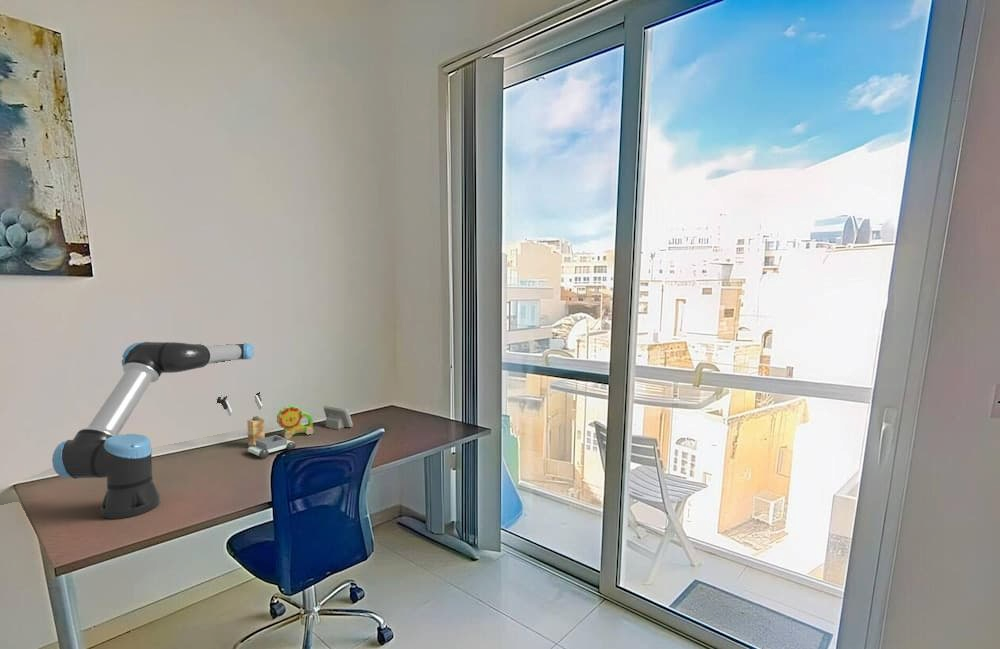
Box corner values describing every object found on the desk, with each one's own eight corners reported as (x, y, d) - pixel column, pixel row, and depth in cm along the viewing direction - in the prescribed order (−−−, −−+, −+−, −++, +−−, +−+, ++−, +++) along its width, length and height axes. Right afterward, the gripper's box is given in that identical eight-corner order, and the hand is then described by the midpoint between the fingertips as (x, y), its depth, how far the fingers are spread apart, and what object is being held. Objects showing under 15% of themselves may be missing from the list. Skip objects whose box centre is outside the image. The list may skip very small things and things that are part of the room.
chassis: (259, 459, 197) (259, 446, 196) (246, 454, 203) (246, 441, 203) (295, 449, 209) (295, 437, 209) (282, 444, 216) (282, 432, 215)
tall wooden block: (253, 448, 210) (252, 419, 209) (248, 446, 213) (247, 417, 212) (264, 445, 214) (264, 416, 213) (259, 443, 217) (258, 415, 216)
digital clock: (354, 427, 242) (354, 407, 241) (338, 432, 235) (338, 411, 234) (336, 422, 252) (335, 402, 251) (320, 425, 245) (320, 405, 244)
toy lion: (310, 431, 235) (310, 401, 234) (314, 434, 231) (313, 404, 229) (276, 438, 225) (275, 406, 224) (279, 441, 221) (278, 409, 220)
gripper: (253, 375, 238) (269, 409, 230) (198, 383, 218) (214, 421, 210) (258, 366, 234) (275, 400, 227) (203, 373, 214) (219, 411, 207)
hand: (246, 410), depth 218 cm, fingers open, 13 cm apart
